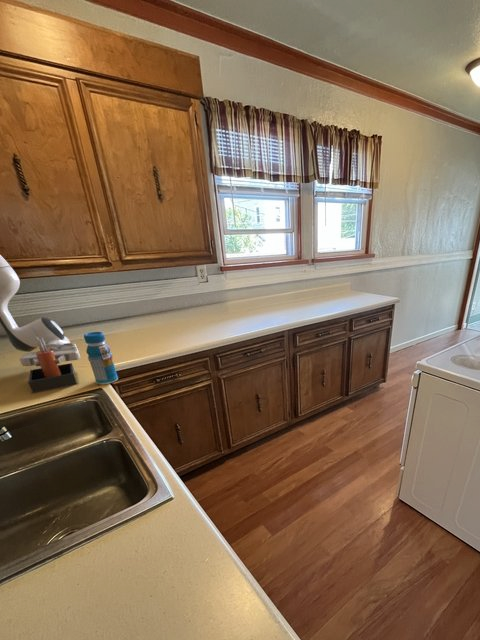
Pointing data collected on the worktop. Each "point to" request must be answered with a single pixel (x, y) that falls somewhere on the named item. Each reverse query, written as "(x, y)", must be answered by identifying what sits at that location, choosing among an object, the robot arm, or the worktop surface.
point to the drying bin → (52, 378)
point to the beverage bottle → (100, 358)
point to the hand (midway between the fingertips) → (47, 362)
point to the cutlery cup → (47, 360)
